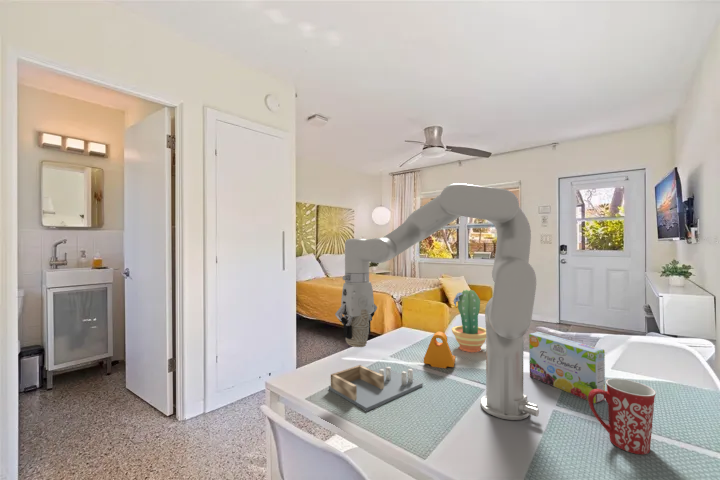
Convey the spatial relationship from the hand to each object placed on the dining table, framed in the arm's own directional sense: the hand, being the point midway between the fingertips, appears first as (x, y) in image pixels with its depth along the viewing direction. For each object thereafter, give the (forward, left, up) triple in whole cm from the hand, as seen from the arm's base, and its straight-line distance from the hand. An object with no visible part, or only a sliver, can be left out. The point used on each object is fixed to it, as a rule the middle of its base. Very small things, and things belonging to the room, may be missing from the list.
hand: (357, 335), depth 105 cm
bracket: (-3, -38, -18) cm, 42 cm away
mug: (-60, -29, -18) cm, 69 cm away
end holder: (0, 0, -17) cm, 17 cm away
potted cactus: (-1, -62, -18) cm, 64 cm away
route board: (-2, -6, -18) cm, 19 cm away
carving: (0, 0, -3) cm, 3 cm away
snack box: (-41, -51, -18) cm, 68 cm away
